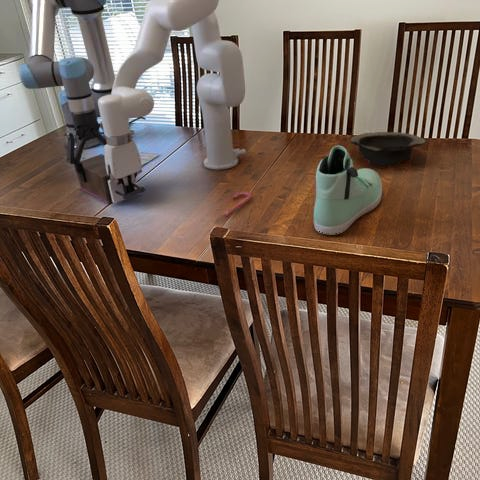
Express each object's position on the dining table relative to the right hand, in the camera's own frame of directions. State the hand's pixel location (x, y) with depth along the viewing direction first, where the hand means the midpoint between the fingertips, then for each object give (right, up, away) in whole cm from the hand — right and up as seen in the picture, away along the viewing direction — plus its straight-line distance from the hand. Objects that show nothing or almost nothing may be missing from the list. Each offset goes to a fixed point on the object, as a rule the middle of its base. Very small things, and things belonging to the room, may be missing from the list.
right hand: (130, 194), depth 150 cm
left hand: (-13, +8, +12) cm, 19 cm away
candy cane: (+33, -4, -5) cm, 34 cm away
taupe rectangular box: (-10, +2, +11) cm, 15 cm away
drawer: (-6, +1, +6) cm, 9 cm away
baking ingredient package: (-4, +16, +32) cm, 36 cm away
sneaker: (+66, -5, -11) cm, 67 cm away
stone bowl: (+85, +14, +18) cm, 88 cm away
